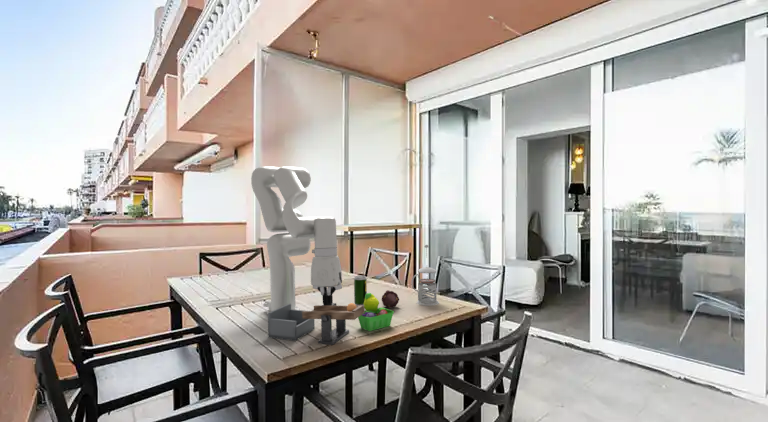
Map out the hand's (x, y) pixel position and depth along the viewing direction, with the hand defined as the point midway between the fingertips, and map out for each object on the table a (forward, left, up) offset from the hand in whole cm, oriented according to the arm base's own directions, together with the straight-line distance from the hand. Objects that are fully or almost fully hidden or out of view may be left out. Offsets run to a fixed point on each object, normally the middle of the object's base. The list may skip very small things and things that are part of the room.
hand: (327, 305), depth 127 cm
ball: (+12, -8, +2) cm, 15 cm away
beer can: (-1, +32, -8) cm, 33 cm away
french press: (+25, +42, -8) cm, 50 cm away
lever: (+6, -4, -1) cm, 7 cm away
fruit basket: (+15, +6, -8) cm, 18 cm away
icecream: (+12, +32, -8) cm, 35 cm away
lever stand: (+6, -8, -8) cm, 13 cm away
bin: (-9, -8, -8) cm, 14 cm away
